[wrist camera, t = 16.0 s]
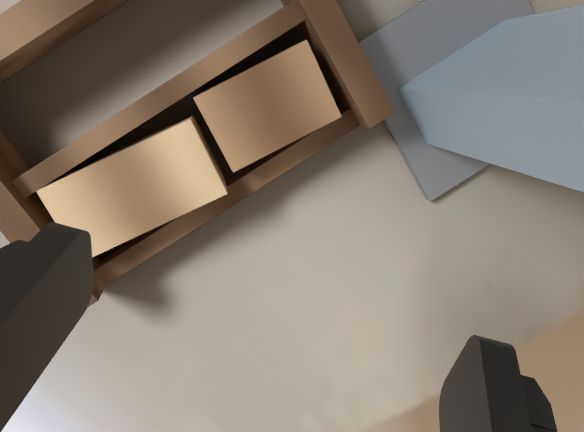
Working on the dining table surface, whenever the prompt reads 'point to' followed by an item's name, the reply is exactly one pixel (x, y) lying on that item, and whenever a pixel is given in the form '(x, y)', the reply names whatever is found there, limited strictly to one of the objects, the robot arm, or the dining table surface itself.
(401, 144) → the mat
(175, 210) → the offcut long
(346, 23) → the rack
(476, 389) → the robot arm
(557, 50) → the pale blue tall prism
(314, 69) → the offcut short
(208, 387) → the dining table surface
